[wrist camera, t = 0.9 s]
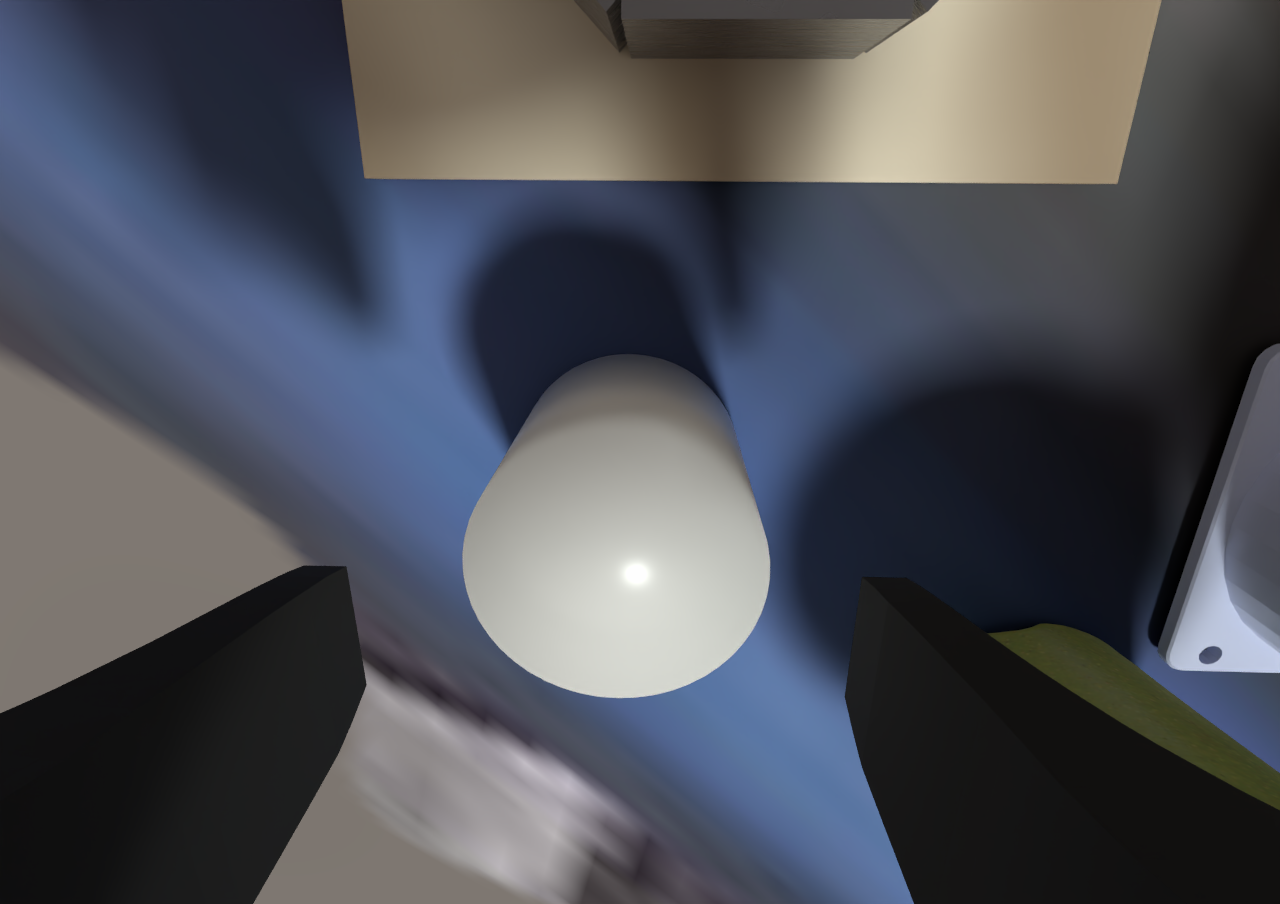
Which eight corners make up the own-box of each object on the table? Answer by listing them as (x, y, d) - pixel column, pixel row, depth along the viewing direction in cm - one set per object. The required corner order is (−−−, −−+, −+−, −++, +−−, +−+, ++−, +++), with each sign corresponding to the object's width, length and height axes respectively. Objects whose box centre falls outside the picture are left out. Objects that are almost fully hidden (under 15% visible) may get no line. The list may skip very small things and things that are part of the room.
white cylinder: (745, 355, 15) (782, 433, 10) (732, 557, 17) (759, 701, 12) (515, 352, 15) (447, 427, 10) (527, 553, 17) (475, 693, 12)
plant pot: (760, 760, 19) (833, 1192, 11) (984, 491, 16) (1326, 814, 8) (1026, 886, 20) (1269, 1353, 12) (1280, 662, 17) (1833, 1088, 9)
